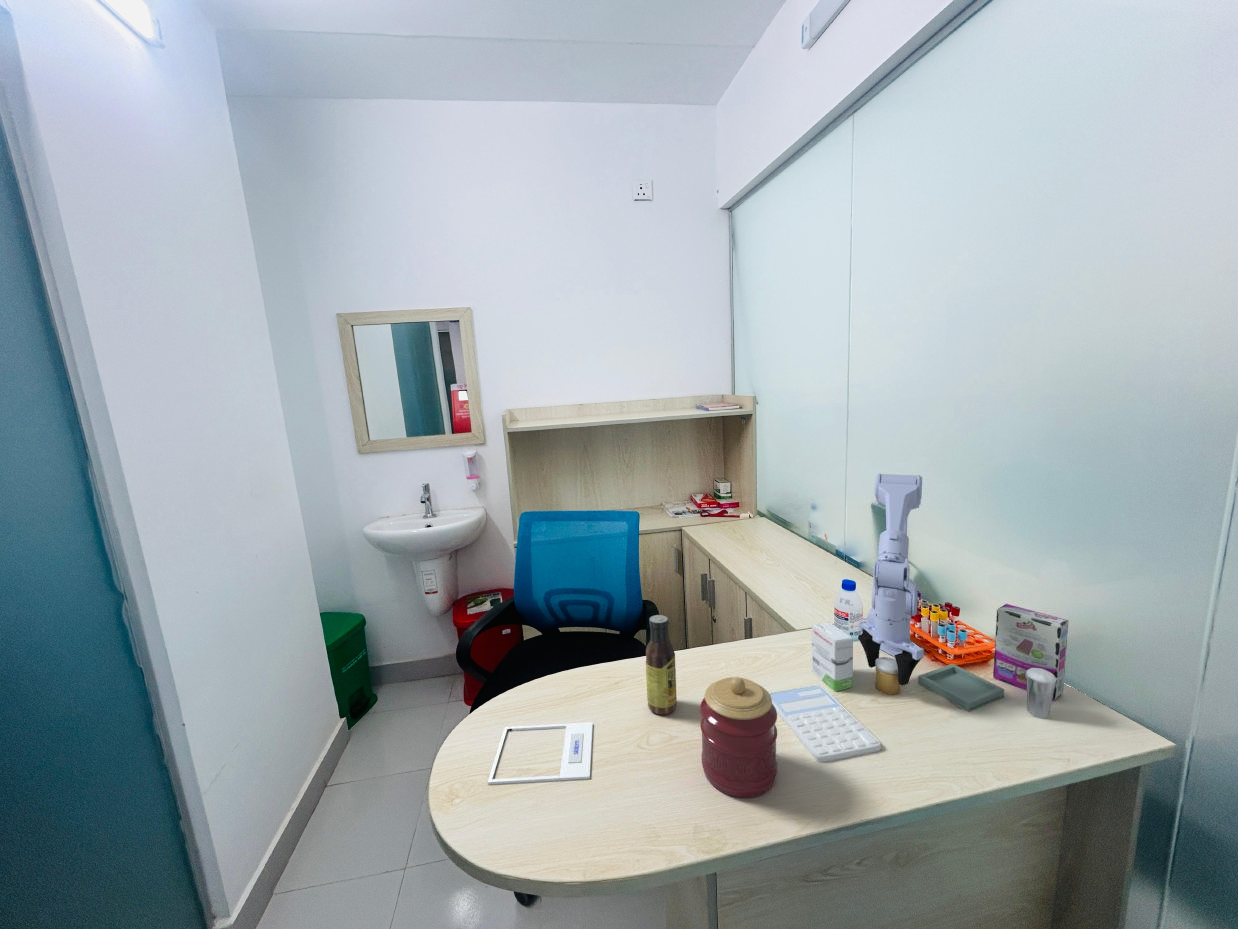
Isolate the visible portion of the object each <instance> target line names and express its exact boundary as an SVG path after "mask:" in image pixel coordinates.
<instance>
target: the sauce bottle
mask: <svg viewBox="0 0 1238 929" xmlns="http://www.w3.org/2000/svg"><path fill="white" fill-rule="evenodd" d="M648 622H649V623H648V624H649V629H650V630H649V631H650V636H649V637H650V640H649V642H648V643H647V645H646V648H645V659H646V660H645V675H646V697H647V698H646V700H647V706H648V709H649V710H650V712H652V713H654V714H656V715H661V716H662V715H663V716H664V715H665V716H666V715H669V714H671V713H672V712H674V711H675V709H676V706H677V675H676V672H677V671H676V653H675V650H674V648H673V646H672V642H671V640H670V634H669V624H670V622H669V618H668V617H667V616H665V615H663V614H656V615H652V616H650V617H649V620H648Z"/></svg>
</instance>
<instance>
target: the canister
mask: <svg viewBox="0 0 1238 929" xmlns="http://www.w3.org/2000/svg"><path fill="white" fill-rule="evenodd" d="M769 693H770V692H769V691H768V690H767V689H766V688H764V687H763V686H762V685H760V684H759V683H757V682H754V681H753V680H750V679H747V678H744V677H740V676H739V677H738V676H736V677H735V676H733V677H726V678H722V679H719V680H717V681H714V682H713V683H711V684H710V685H709V686H708V687H707V688H706V690H705V693H704V698H703V699H702V700H701V702H700V706H699V709H700V710H699V711H700V714H701V716H702V718H701V721H700V732H701V745H702V746H701V748H702V751H701V765H702V768H703V772H704V776H705V778H706V780H707V781H708V782H709V783H710V784H711V785H712V786H713V787H714V788H716V789H717V790H719V792H722V793H724V794H726V795H729V796H733V797H735V798H736V797H737V798H742V799H743V798H746V799H747V798H748V799H749V798H754V797H759V796H762V795H763V794H765V793H767V792H768V791H770V790H771V788H772V787H773V786H774V784H775V782H776V777H777V774H778V760H777V739H778V729H777V726H776V723H777V721H778V713H777V711H776V708H775V707H774V705H773V704H772V699H771V696H770V694H769Z"/></svg>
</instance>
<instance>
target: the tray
mask: <svg viewBox="0 0 1238 929" xmlns="http://www.w3.org/2000/svg"><path fill="white" fill-rule="evenodd" d="M917 678H918V679H917V681H918V682H917V684H918V685H920V686H922V687H924V688H925V689H927V690H929V691H930V692H933V693H934V694H936V695H938V696H940V697H942V698H944V700H945V699H946V700H947V701H949V702H951V703H952V704H954V705H955V706H957V707H960V708H961V709H963V710H965V712H966V711H967V712H971V711H973V710H976V709H978V708H982V707H983V706H986V705H988V704H990V703H994V702H995V701H997V700H1000V699H1003V698H1004V697H1005V688H1003V687H1000V686H999V685H997V684H995V683H992V682H991V681H989V680H987V679H984V678H983V677H980V676H978V675H976V674H975V673H973V672H970V671H969V670H966V669H964V668H962V667H960V666H958V665H957V664H954V663H950V664H948V665H945V666H942V667H939V668H936V669H933V670H931V671H928V672H925V673H922V674H920V675H917Z"/></svg>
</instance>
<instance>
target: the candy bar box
mask: <svg viewBox="0 0 1238 929" xmlns="http://www.w3.org/2000/svg"><path fill="white" fill-rule="evenodd" d="M1068 633H1069V620H1068V619H1065V618H1061V617H1058V616H1054V615H1050V614H1046V613H1043V612H1039V611H1035V610H1031V609H1028V608H1024V607H1021V606H1017V605H1012V604H1008V603H1004V604H1003V605H1001V606H1000V607H999V608H997V609H996V621H995V640H994V657H993V669H992V670H993V675H992V677H993V678H994V679H995V680H999V681H1001V682H1003V683H1005V684H1008V685H1011V686H1014V687H1016V688H1019V689H1021V690H1024V691H1027V679H1026V671H1027V670H1028V669H1030V668H1041V669H1044V670H1046V671H1049V672H1051V673H1052V674H1053V675H1054V676H1055V677H1056V678H1057V677H1058V676H1059V674H1060V673H1061V672H1062V671H1063V673H1062V674H1061V675H1060V676H1059V677H1058V679H1057V680H1056V684H1055V689H1054V693H1053V698H1052V702H1053V701H1054V702H1055V701H1057V699H1058V698H1060V696H1062V695H1063V693H1064V686H1065V672H1066V671H1065V670H1066V658H1067V645H1068Z"/></svg>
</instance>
